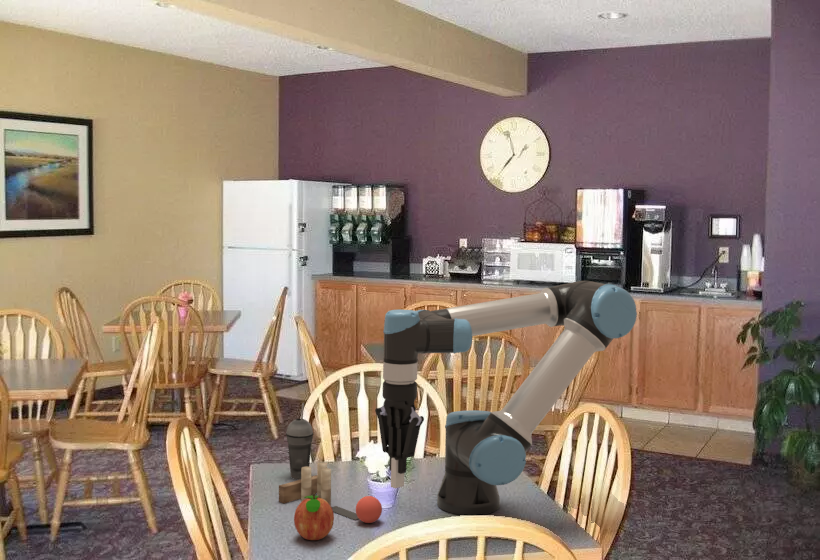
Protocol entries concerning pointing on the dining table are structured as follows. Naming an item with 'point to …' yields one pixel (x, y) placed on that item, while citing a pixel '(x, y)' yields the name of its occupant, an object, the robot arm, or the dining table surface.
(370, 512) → the ball
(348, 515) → the dark grey flat bar
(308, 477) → the pin
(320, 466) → the pin
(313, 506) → the fruit
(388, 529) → the dining table surface
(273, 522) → the dining table surface
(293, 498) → the back rail
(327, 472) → the pin front
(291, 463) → the beverage cup
